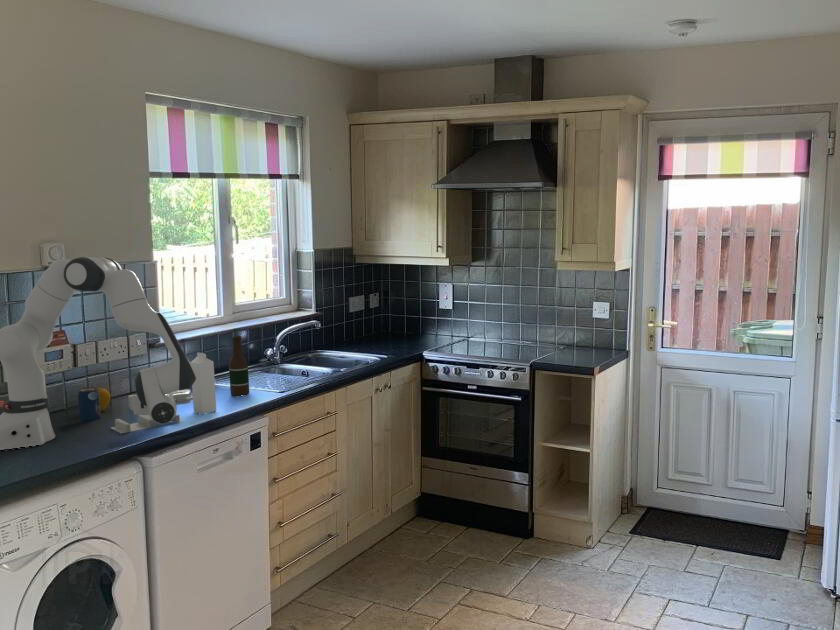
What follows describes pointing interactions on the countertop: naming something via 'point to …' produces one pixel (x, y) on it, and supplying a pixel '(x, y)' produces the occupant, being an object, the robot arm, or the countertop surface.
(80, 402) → the soda can
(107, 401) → the yellow bell pepper
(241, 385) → the beer bottle
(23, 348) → the robot arm
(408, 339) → the countertop surface
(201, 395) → the milk
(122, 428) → the white ridged flat base
